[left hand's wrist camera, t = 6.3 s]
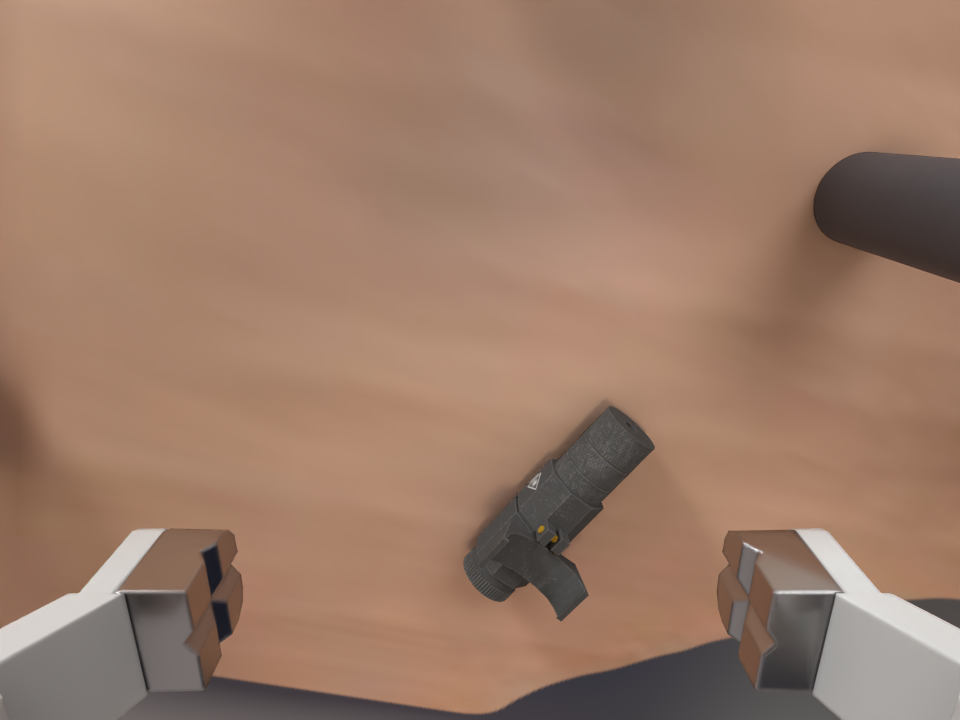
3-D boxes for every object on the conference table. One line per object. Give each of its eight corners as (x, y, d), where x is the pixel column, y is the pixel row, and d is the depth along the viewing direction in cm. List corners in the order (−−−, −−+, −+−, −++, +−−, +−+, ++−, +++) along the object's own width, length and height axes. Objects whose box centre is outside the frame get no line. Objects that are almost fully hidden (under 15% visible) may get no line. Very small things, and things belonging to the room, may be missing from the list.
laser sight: (660, 441, 63) (692, 496, 54) (515, 586, 69) (521, 659, 60) (586, 384, 61) (606, 431, 52) (443, 539, 67) (437, 607, 58)
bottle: (798, 188, 55) (1010, 232, 33) (882, 132, 54) (1164, 139, 32) (836, 261, 57) (1059, 347, 35) (919, 209, 56) (1206, 266, 34)
